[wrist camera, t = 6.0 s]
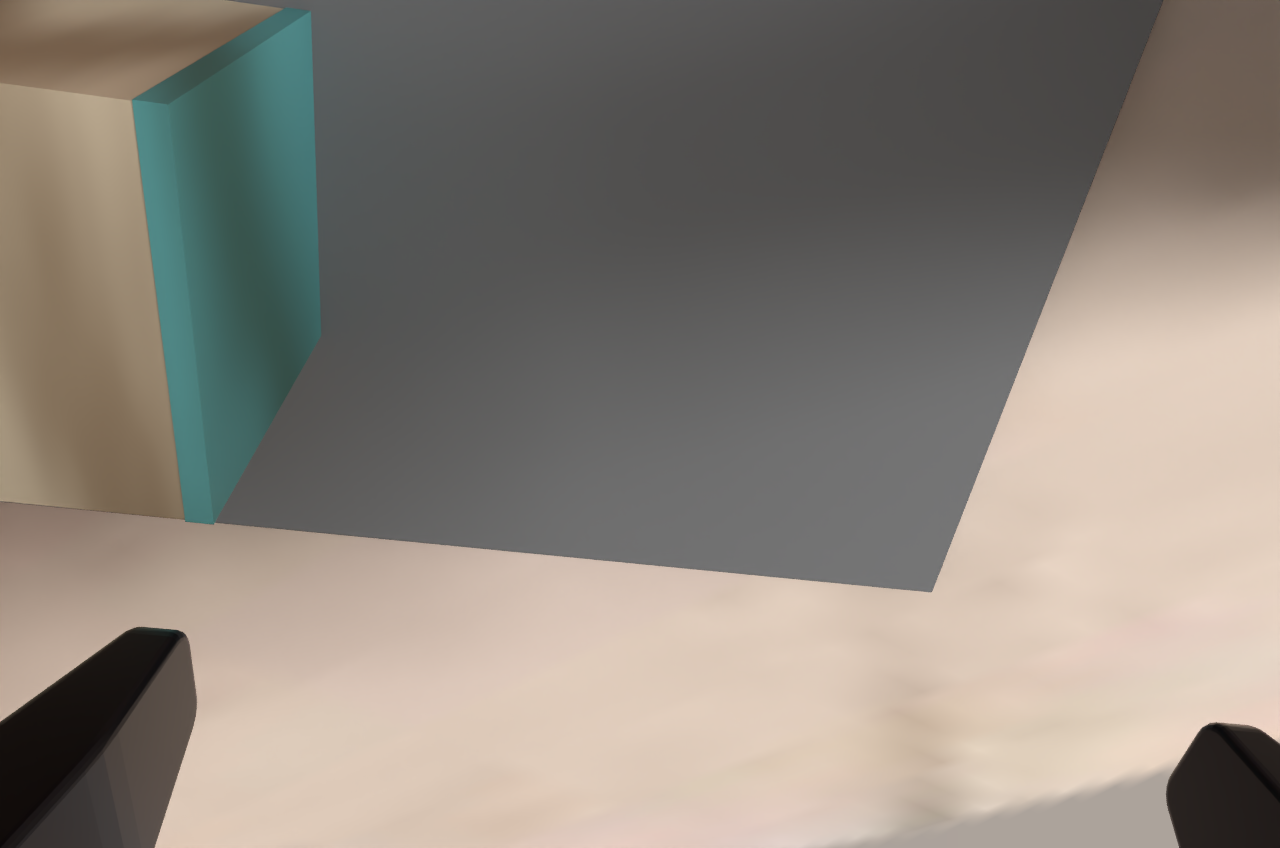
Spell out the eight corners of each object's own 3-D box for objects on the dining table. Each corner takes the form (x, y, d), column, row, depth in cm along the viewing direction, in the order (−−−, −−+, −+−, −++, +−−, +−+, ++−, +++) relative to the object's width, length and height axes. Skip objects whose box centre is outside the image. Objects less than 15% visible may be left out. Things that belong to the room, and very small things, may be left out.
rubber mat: (1174, -60, 16) (1185, -58, 16) (927, 581, 24) (931, 592, 23) (-708, -366, 14) (-742, -370, 14) (-334, 457, 21) (-350, 467, 21)
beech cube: (167, 104, 11) (-404, 27, 11) (213, 523, 14) (-227, 480, 14) (311, 10, 16) (-72, -45, 16) (321, 335, 19) (2, 298, 19)
